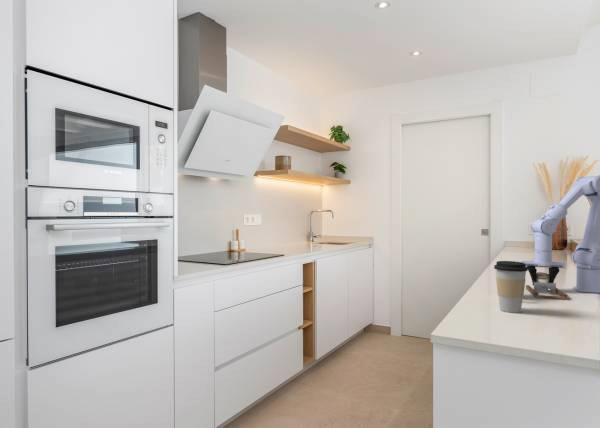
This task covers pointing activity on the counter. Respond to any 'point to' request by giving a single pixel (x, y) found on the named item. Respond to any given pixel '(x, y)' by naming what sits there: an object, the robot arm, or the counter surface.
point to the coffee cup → (510, 285)
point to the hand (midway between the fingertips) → (542, 286)
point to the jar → (542, 277)
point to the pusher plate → (545, 287)
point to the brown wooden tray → (561, 296)
